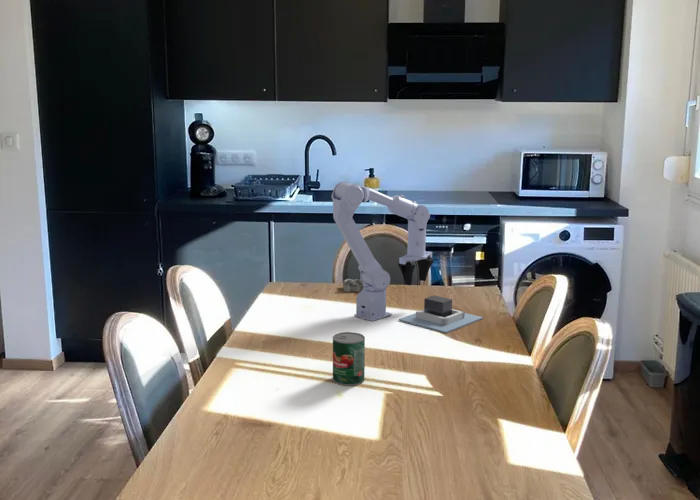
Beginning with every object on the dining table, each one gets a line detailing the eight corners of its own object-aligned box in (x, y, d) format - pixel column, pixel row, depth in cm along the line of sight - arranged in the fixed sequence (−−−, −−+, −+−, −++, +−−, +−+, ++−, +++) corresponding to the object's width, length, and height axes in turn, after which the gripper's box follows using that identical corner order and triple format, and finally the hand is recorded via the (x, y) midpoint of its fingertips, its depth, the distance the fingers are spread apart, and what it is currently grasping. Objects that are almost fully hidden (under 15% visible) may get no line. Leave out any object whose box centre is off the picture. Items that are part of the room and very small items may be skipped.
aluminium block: (442, 321, 223) (443, 302, 222) (423, 316, 228) (424, 298, 226) (451, 317, 227) (452, 299, 225) (433, 313, 231) (433, 295, 230)
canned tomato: (368, 375, 181) (368, 333, 178) (359, 387, 173) (360, 343, 171) (337, 372, 183) (337, 330, 180) (328, 383, 175) (328, 340, 173)
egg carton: (342, 292, 258) (342, 281, 257) (342, 287, 265) (342, 276, 264) (372, 292, 258) (372, 281, 257) (372, 287, 265) (372, 276, 264)
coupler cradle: (446, 333, 213) (446, 325, 213) (398, 320, 225) (398, 312, 224) (482, 318, 228) (483, 311, 227) (436, 307, 239) (436, 300, 239)
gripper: (412, 246, 224) (410, 288, 226) (440, 240, 234) (438, 280, 237) (394, 243, 228) (393, 284, 231) (423, 237, 239) (421, 277, 241)
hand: (415, 282), depth 234 cm, fingers open, 7 cm apart
